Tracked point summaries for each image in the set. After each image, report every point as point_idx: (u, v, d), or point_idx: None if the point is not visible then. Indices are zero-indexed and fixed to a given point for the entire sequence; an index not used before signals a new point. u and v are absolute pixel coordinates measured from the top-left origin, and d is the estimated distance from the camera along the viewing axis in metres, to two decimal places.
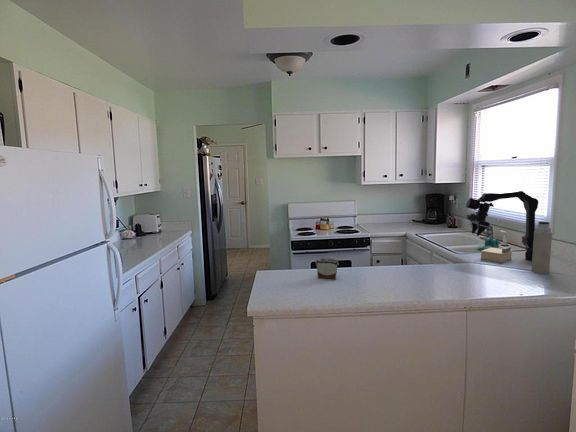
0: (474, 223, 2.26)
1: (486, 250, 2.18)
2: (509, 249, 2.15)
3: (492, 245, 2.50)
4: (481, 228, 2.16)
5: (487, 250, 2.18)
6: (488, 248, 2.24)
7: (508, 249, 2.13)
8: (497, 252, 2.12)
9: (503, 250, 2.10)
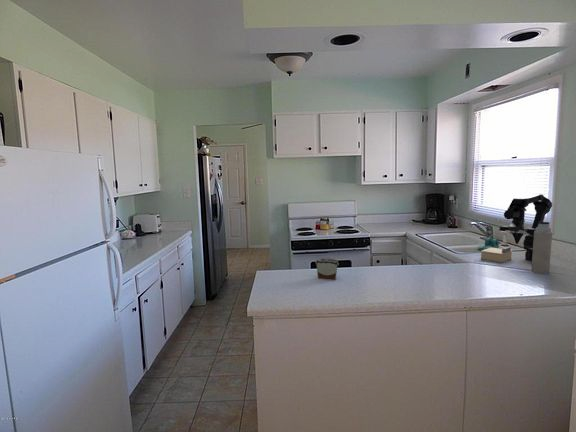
0: (515, 232, 2.08)
1: (486, 250, 2.18)
2: (509, 249, 2.15)
3: (492, 245, 2.50)
4: None
5: (487, 250, 2.18)
6: (488, 248, 2.24)
7: (508, 249, 2.13)
8: (497, 252, 2.12)
9: (503, 250, 2.10)
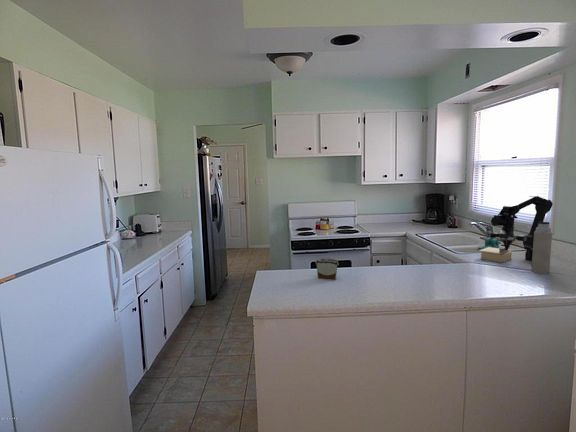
0: (505, 239, 2.12)
1: (484, 250, 2.19)
2: None
3: (492, 245, 2.50)
4: None
5: (485, 250, 2.19)
6: (486, 248, 2.25)
7: (505, 249, 2.14)
8: (495, 252, 2.13)
9: (500, 250, 2.11)
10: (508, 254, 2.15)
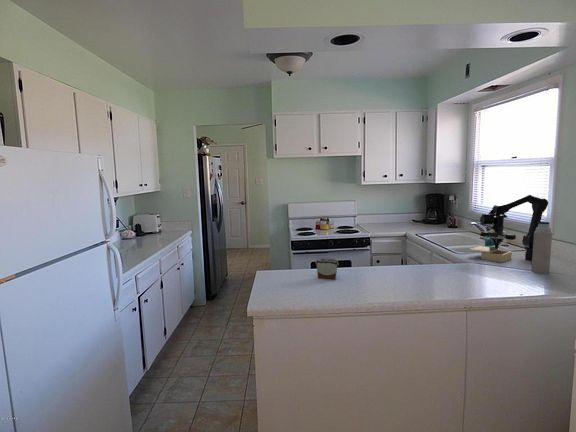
0: (495, 238, 2.17)
1: (474, 248, 2.23)
2: None
3: (492, 245, 2.50)
4: None
5: (475, 248, 2.23)
6: None
7: None
8: (485, 250, 2.17)
9: (490, 248, 2.16)
10: (508, 254, 2.15)
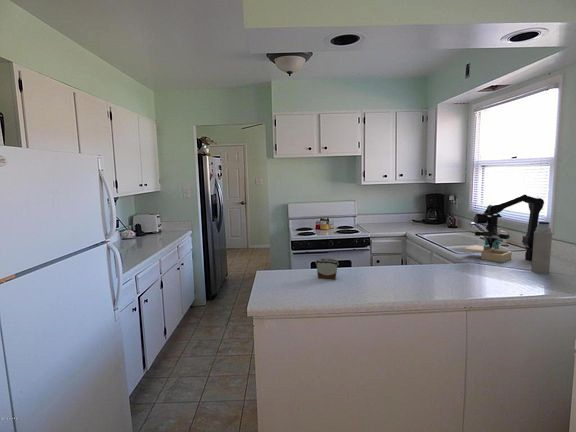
0: (489, 237, 2.19)
1: (469, 248, 2.26)
2: None
3: None
4: (493, 240, 2.19)
5: (470, 248, 2.26)
6: (471, 246, 2.32)
7: None
8: (479, 249, 2.20)
9: (485, 247, 2.18)
10: (508, 254, 2.15)
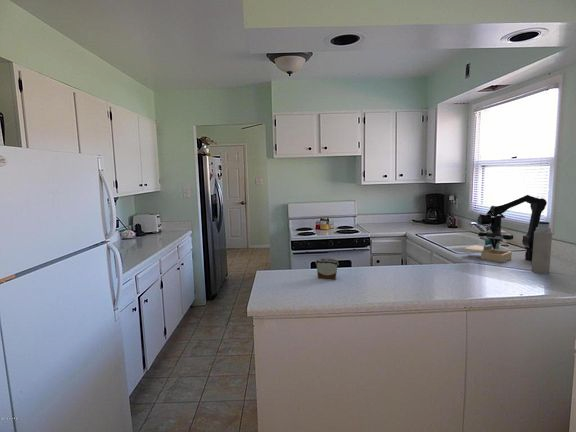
0: (493, 238, 2.18)
1: (469, 247, 2.26)
2: (491, 247, 2.23)
3: (492, 245, 2.50)
4: None
5: (470, 247, 2.26)
6: (471, 246, 2.32)
7: (490, 246, 2.22)
8: (479, 249, 2.20)
9: (484, 247, 2.18)
10: (508, 254, 2.15)
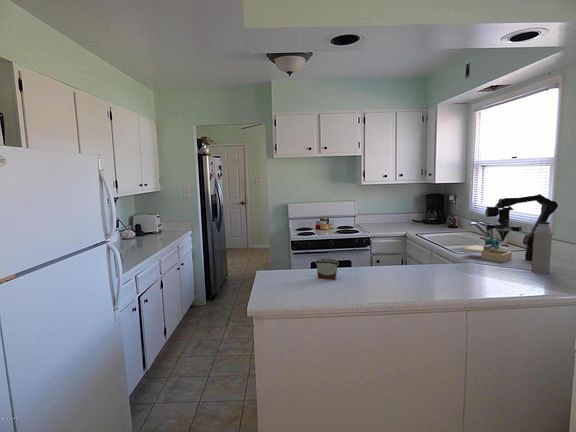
0: (501, 230, 2.20)
1: (469, 247, 2.26)
2: (491, 247, 2.23)
3: (492, 245, 2.50)
4: None
5: (470, 247, 2.26)
6: (471, 246, 2.32)
7: (490, 246, 2.22)
8: (479, 249, 2.20)
9: (484, 247, 2.18)
10: (508, 254, 2.15)
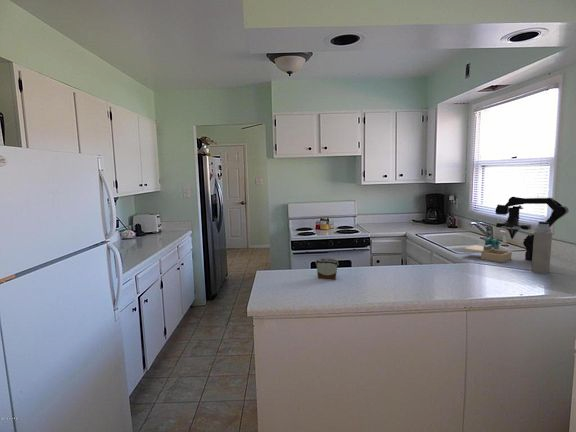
0: (511, 228, 2.25)
1: (469, 247, 2.26)
2: (491, 247, 2.23)
3: (492, 245, 2.50)
4: None
5: (470, 247, 2.26)
6: (471, 246, 2.32)
7: (490, 246, 2.22)
8: (479, 249, 2.20)
9: (484, 247, 2.18)
10: (508, 254, 2.15)
